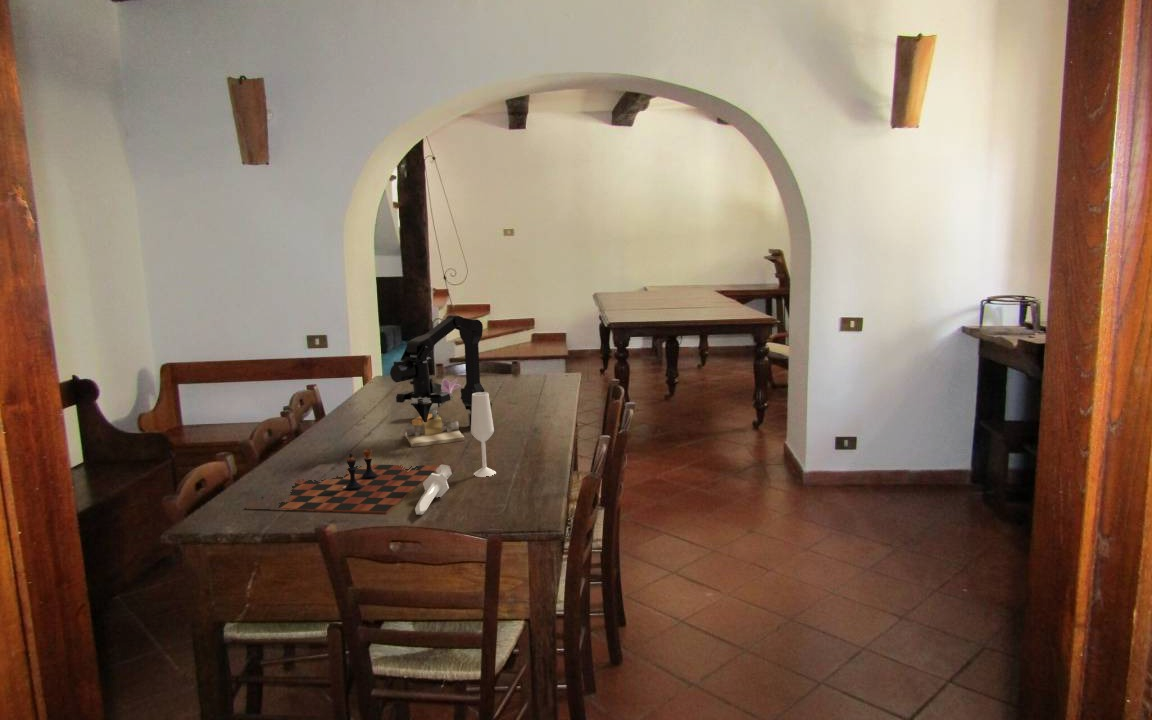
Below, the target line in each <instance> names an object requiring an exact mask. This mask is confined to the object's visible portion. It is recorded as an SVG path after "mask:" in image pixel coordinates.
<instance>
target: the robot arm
mask: <svg viewBox="0 0 1152 720" xmlns="http://www.w3.org/2000/svg"><path fill="white" fill-rule="evenodd" d="M483 329H484V325H483V322H481V321H480V319H474V318H466V317H462V316H460V315H456V314H449V315H447V316H446V318H445V319H442V321H441V322H439V323H438V324H437V325H435V326H434V327H433V328H432V329H430V330H429V331H428V332H426V333H425V334H423V335H419V336H416V337H414V338H412V339H410V340H409V341H407V342H406V347H405V349H404V352H403V353H402V356H401V358H400V361H398V360H397V361H393V365H392V366H391V369H390V374H389V375H390V378H391V380H392V381H393V382H394V383H396V384H397V383H400V382H405V381H409V384H410V385H412V390H413V391H411V390H409V391H408V390H407V391H403V392H399V393H397V394H396V396H395V401H396V403H400V404H401V403H402V404H403V403H405V401H406V400H408V401H410V400H411V403H410V406H413V408H414V409H415V410H416V412H417V413H418V415H419V416H420V417H421V418H422V419H423V421H424V422H427V418H428V414H429V410H430V408H431V405H432V404H433V403H439V404H440V403H444V402H445V403H446V402H448V401H449V402H450V401H451V397H450V394H449V393H448V392H441V387H442V383H441V384H440V383H436V382H433V381H434V380H433V378H432V377H430V372H429V370H430V369H429V363H432V362H433V358H431V357H430V356H429V355H430V354H431V353H432V351H433V350H434V349H435V346H436V345H437V344H438V343H439V342H440V341H441V340H442V339H444V338H445V337H447V336H449V334H450V333H451V332H453V331H454V330H458V333H459V336H460V339H461V340H462V342H463V344H464V360H465V364H464V365H465V384H464V387H461V388H460V400H461V402H462V404H463V405H464V408H465V410H468V411H469V413H468V414H467V416H468V417H467V418H468V419H467V420H468V426H470V427H471V413H472V394H473V393H478V392H486V391H485V388H484V387H483V386H482V384H481V383H482V382H481V375H480V353H479V349H480V348H479V343H480V341H481V339H482V337H483V331H484V330H483ZM434 393H435V394H434ZM431 394H432V395H431ZM492 406H493V404H492V402H490V407H491V408H492Z"/></svg>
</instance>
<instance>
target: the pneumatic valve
mask: <svg viewBox="0 0 1152 720" xmlns="http://www.w3.org/2000/svg"><path fill="white" fill-rule="evenodd" d="M441 392H442V389H441ZM434 394H435V393H434ZM431 395H432V394H431ZM444 405H446V402H444V403H440V404H439V403H433V404H432V405H431V408H430V410H429V411H436V416H439V411H438V410H437V408H441V407H442V406H444Z"/></svg>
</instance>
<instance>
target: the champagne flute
mask: <svg viewBox="0 0 1152 720" xmlns="http://www.w3.org/2000/svg"><path fill="white" fill-rule="evenodd" d="M490 403H491V402H490V394H489V392H486V391H485V392H478V393H473V394H472V413H471V426H470V433H471V435H472V436H473V437H474V438H475V439H476V440H477V441H478V442H480V444H481V445H480V446H481V459H482V460H481V461H482V462H481V464H482V467H481V468H480V469H478V470H476V471H475V472H473V476H474V475H475V476H474V477H478V478H487V477H486V476H489V477H493V476H495V475H496V474H497V472H496V471H495V470H494V469H491V468H489V467H487V452H486V451H487V450H486V449H487V448H486V442H487V441H488V440H489V439H490V437H492V435H493V434H494V432H495V428H494V421H493V415H492V407H490ZM494 474H495V475H494ZM492 475H493V476H492Z"/></svg>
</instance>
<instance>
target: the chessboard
mask: <svg viewBox="0 0 1152 720" xmlns="http://www.w3.org/2000/svg"><path fill="white" fill-rule="evenodd" d="M362 451H363V455H364V456H365V457H364V458H363V460H364V462H365V463H366V465H367V466H366V467H364V468H361V467H363V466H360V467H359V468H357V467H358V466H356V467H354V465H355V464H356V462H357V461H356V459H355V457H353V454H352V453H349V455H348V458H347V460H346V464H348V465H349V467H350V468H348V469H347V470H346V471H349V472H348V473H347V474H346V475H345V476H344V478H343V477H338V476H337V477H336V478H332V480H333V481H331V480H329V479H327V478H325V479H324V480H321V481H322V483H321V482H318V481H316V480H314V481H315V482H313V481H312V480H309V479H308V481H307V480H304V479H302V482H301V481H300V480H299V479H297V481H296V482H298V483H296V482H295V483H294V484H295V486H292V488H293V489H292V490H291V491H292V492H290V493H291V494H290V495H289V496H291V497H290V498H289V500H290V502H286V503H285V500H284V501H282V502H281V503H279V504H280V505H279V507H278V508H282V509H293V510H306V511H305V512H308V511H307V510H311V511H310V512H313V511H333V512H332V513H345V512H359V513H358V514H377V513H379V514H381V515H382V514H383V515H387V514H388V513H389V512H391V511H392V510H393V509H394V508H395V507H397V505H398V504H400V503H401V502H402V501H403V500H404V499H405V498H407V497H408V496H409V495H410V494H411V493H412V492H413V491H414V490H416V489H417V488H418V487H419V486H420V485H421V484H423V482H424V481H425V480H426V479H427V478H428V477H429V476H430V475H431V474H432V473H436V469H437V468H438V467H439V466H440V465H421V464H419V465H420V466H416V467H415V468H412V469H411V470H410V471H409V472H407V471H408V470H409V469H410V468H411V467H412V466H411V467H410V468H409V469H405V467H404V468H403V466H402V465H403V464H372V459H373V456H372V457H371V455H372V452H373V449H369V448H368V449H364V450H362ZM371 464H372V465H373V466H372V465H371ZM399 465H400V466H399ZM364 466H365V465H364ZM401 466H402V467H401ZM360 468H361V469H360ZM402 468H403V469H402ZM416 468H417V469H416ZM404 469H405V470H404ZM415 469H416V470H415ZM414 470H415V472H414ZM299 483H300V484H299ZM416 487H417V488H416ZM408 494H409V495H408ZM407 495H408V496H407ZM252 503H253V502H252ZM254 504H255V503H253V504H252V505H250V506H249V507H252V506H253V505H254ZM258 505H259V504H257V505H256V506H258ZM257 508H258V507H257ZM312 510H313V511H312ZM379 514H378V515H379Z"/></svg>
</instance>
